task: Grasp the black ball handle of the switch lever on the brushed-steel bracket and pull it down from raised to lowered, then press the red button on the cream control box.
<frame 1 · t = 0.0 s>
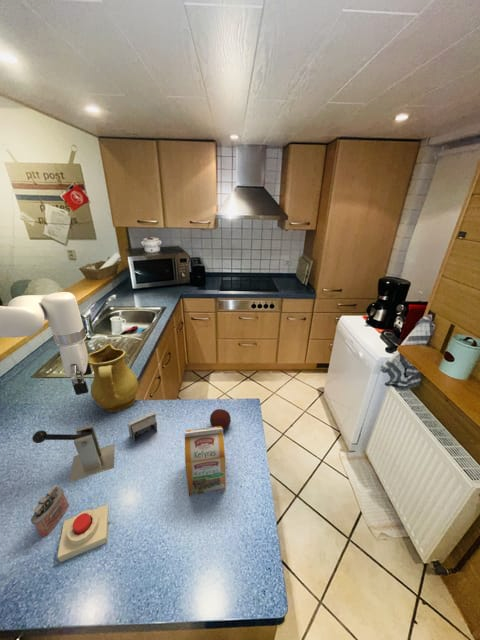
hand: (84, 383, 79), 24 cm above the worktop, tool pointing down, fingers open, 9 cm apart
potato: (220, 427, 94), on the worktop
pitcher: (117, 403, 104), on the worktop
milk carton: (206, 475, 77), on the worktop
button: (82, 523, 61), point 5 cm above the worktop, slide at 0.1 cm
lighter: (56, 521, 65), on the worktop
lever: (62, 437, 72), point 14 cm above the worktop, hinge at 25.0°
electrical switch: (146, 436, 89), on the worktop
control box: (86, 533, 63), on the worktop
bracket: (94, 464, 79), on the worktop
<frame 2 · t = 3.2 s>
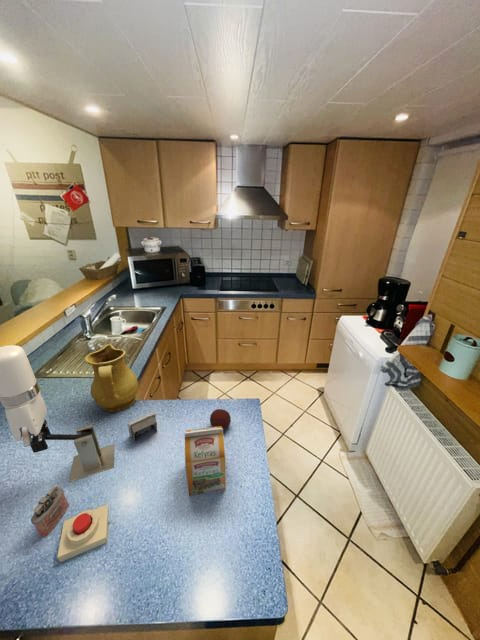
hand: (42, 443, 70), 14 cm above the worktop, tool pointing down, fingers closed on lever, 3 cm apart
lever: (62, 437, 72), point 14 cm above the worktop, hinge at 25.0°, touching gripper
everything else where it was.
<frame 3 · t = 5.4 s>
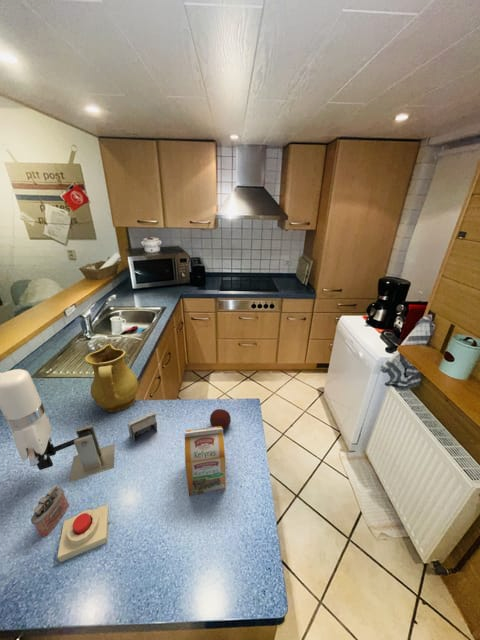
hand: (48, 460, 73), 7 cm above the worktop, tool pointing down, fingers closed on lever, 3 cm apart
lever: (64, 445, 73), point 11 cm above the worktop, hinge at -9.7°, touching gripper
everything else where it was.
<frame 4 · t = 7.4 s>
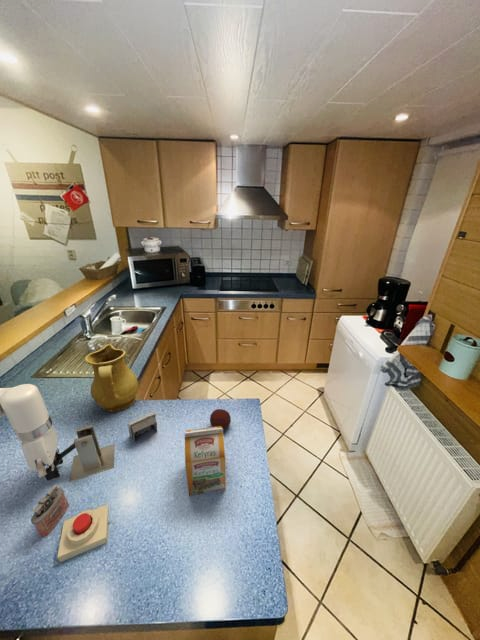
hand: (55, 470, 75), 2 cm above the worktop, tool pointing down, fingers open, 3 cm apart
lever: (69, 449, 74), point 9 cm above the worktop, hinge at -32.0°
everything else where it was.
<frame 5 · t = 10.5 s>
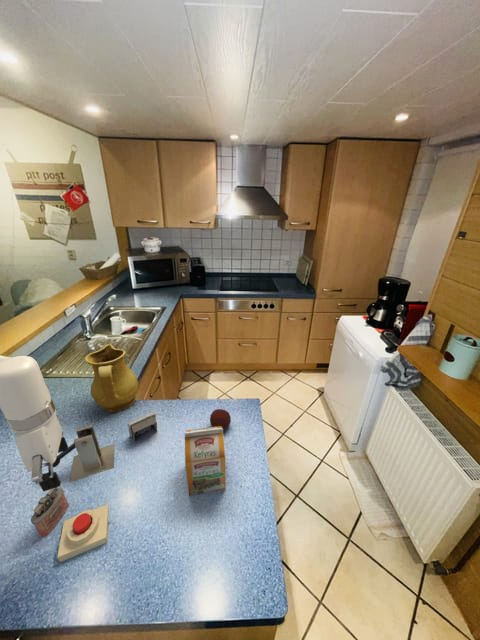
hand: (57, 468, 59), 19 cm above the worktop, tool pointing down, fingers open, 9 cm apart
nothing on the worktop moved.
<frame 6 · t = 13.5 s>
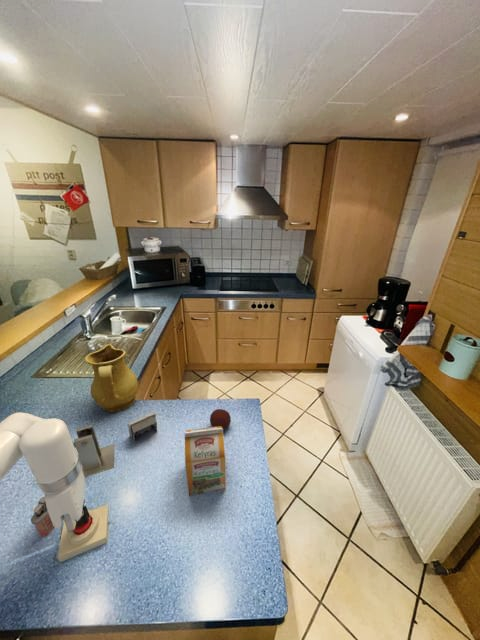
hand: (81, 521, 61), 5 cm above the worktop, tool pointing down, fingers closed
button: (82, 523, 61), point 4 cm above the worktop, slide at 0.1 cm, touching gripper
everything else where it was.
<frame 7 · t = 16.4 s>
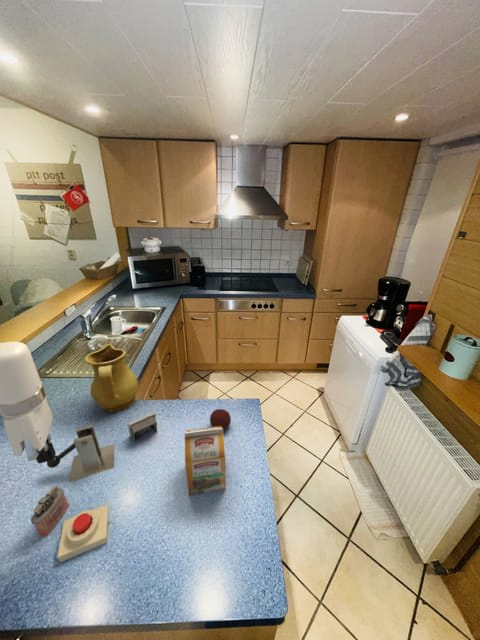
hand: (47, 458, 60), 20 cm above the worktop, tool pointing down, fingers closed
button: (82, 523, 61), point 5 cm above the worktop, slide at 0.1 cm
everything else where it was.
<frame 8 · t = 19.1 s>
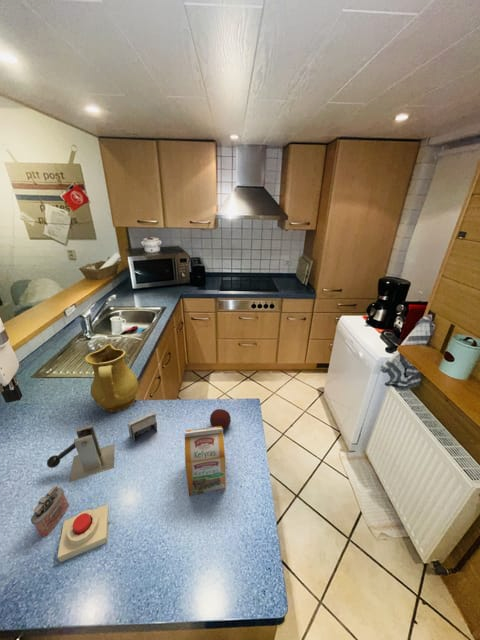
hand: (14, 399, 67), 27 cm above the worktop, tool pointing down, fingers closed
nothing on the worktop moved.
at the end: lever at -32° (first picture: +25°); button pushed in 1.1 cm at the most during the clip, back to where it started at the end; button slide at 0.1 cm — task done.
